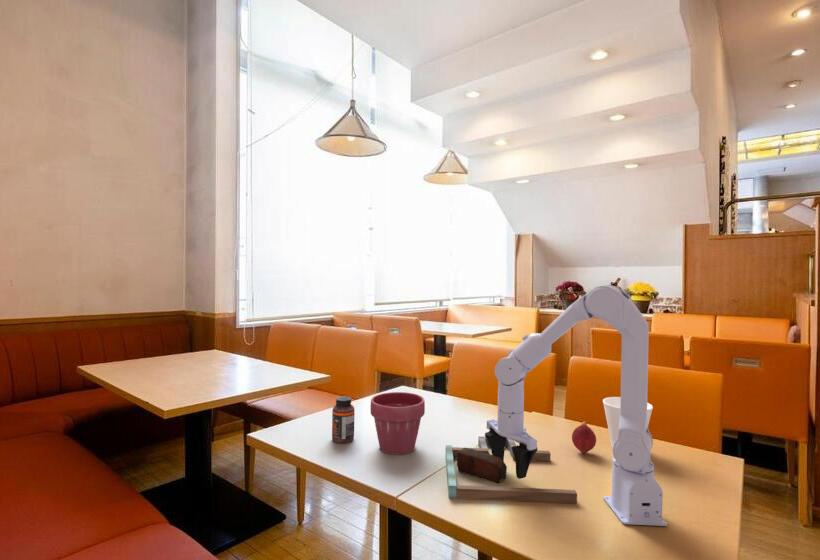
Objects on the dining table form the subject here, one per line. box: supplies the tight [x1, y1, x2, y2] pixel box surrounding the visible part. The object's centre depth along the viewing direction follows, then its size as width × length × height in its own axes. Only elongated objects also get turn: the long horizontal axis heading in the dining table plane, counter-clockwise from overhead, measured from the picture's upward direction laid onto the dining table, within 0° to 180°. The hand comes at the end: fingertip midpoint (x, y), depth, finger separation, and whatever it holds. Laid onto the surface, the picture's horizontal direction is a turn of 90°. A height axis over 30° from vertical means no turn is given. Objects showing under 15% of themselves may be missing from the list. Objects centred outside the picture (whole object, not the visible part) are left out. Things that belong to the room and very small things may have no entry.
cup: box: [602, 396, 654, 450], centre depth 114 cm, size 12×12×12 cm
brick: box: [456, 447, 508, 484], centre depth 99 cm, size 11×4×5 cm, turn 56°
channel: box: [445, 435, 578, 504], centre depth 102 cm, size 29×26×2 cm
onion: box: [571, 421, 597, 454], centre depth 112 cm, size 6×6×8 cm
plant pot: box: [370, 391, 426, 455], centre depth 113 cm, size 14×14×13 cm
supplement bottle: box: [331, 395, 355, 444], centre depth 118 cm, size 6×6×11 cm
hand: (509, 470), depth 98 cm, fingers open, 7 cm apart
